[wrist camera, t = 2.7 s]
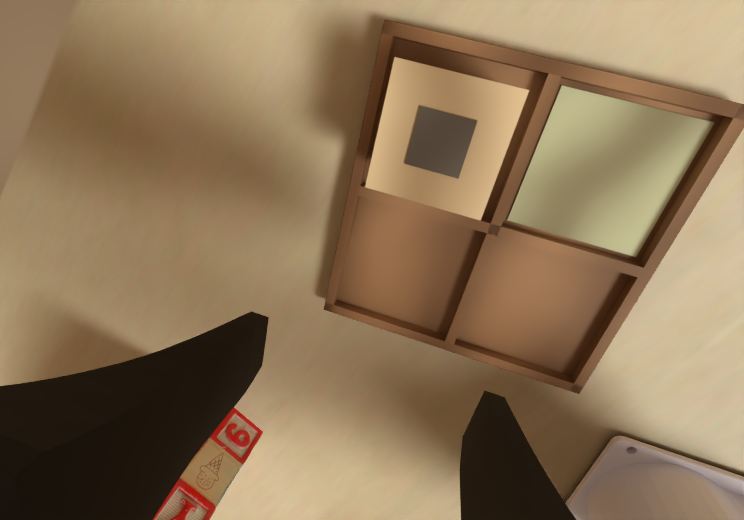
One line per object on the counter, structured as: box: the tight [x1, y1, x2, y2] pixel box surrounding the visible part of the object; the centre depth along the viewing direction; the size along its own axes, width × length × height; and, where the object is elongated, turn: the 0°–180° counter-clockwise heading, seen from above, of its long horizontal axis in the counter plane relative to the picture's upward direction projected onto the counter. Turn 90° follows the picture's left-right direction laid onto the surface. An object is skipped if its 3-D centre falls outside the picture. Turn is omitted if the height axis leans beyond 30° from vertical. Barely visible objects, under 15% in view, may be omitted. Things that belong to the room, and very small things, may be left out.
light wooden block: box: [365, 57, 529, 221], centre depth 15 cm, size 4×4×5 cm
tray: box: [324, 20, 744, 394], centre depth 18 cm, size 14×14×1 cm
